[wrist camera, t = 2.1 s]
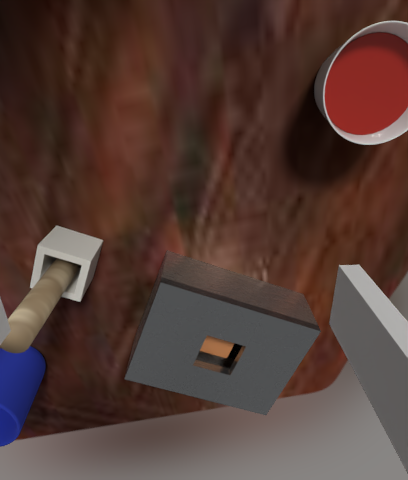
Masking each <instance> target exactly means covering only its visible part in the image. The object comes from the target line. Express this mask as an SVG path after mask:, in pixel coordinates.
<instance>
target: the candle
mask: <svg viewBox="0 0 408 480" xmlns="http://www.w3.org/2000/svg"><path fill="white" fill-rule="evenodd" d="M314 96H315V101H316V104H317V107H318V109H319V110H320V112H321V113H322V115H323V116H324V117H325V119H326V120H327V121H328V123H329V124H330V125H331V126H332V128H333V129H334V130H335V131H336V132H337V133H338V134H339V135H340V136H342V137H343V138H345V139H346V140H348V141H351V142H353V143H357V144H362V145H374V144H380V143H384V142H387V141H390V140H392V139H394V138H396V137H398V136H400V135H401V134H403V133H404V132H406V131H407V130H408V23H406V22H401V21H385V22H380V23H376V24H373V25H371V26H368V27H366V28H364V29H362V30H361V31H359V32H358V33H356V34H355V35H353V36H352V37H351V38H350V39H348V40H347V41H346V42H345V43H344V44H342V45H341V46H340V47H339V48H338V49H336V50H335V51H334V52H333V53H332V54H331V55H330V56H329V57H328V58H327V59H326V60H325V61H324V63H323V64H322V66H321V68H320V69H319V71H318V74H317V77H316V80H315V85H314Z"/></svg>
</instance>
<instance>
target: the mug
mask: <svg viewBox="0 0 408 480" xmlns="http://www.w3.org/2000/svg"><path fill="white" fill-rule="evenodd" d="M45 369H46V364H45V360H44V357H43V356H42V354H41V353H40V352H39V351H38V350H36V349H35V348H33V347H31V346H30V347H29V348H28V349H27V350H26V351H25V352H22V353H10V352H7V351H5V350H4V349H2V348H1V349H0V446H5V445H7V444H10V443H11V442H13V441H14V440H15V439H16V438H17V437H18V436H19V434H20V432H21V429H22V427H23V424H24V422H25V420H26V417H27V415H28V412H29V410H30V408H31V405H32V403H33V400H34V398H35V396H36V393H37V391H38V388H39V386H40V384H41V381H42V379H43V376H44V373H45Z"/></svg>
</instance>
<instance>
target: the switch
mask: <svg viewBox="0 0 408 480" xmlns="http://www.w3.org/2000/svg"><path fill="white" fill-rule="evenodd" d="M234 344H235V343H232V342H228V341H225V340H222V339H218V338H215V337H211V336H208V335H207V337H206V339H205V341H204V343H203V345H202V347H201V349H200V351H202V352H205V353H209V354H213V355H216V356H220V357H223V358H227V357H228V355H229V353H230V351H231V350H232V348H233V346H234Z"/></svg>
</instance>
